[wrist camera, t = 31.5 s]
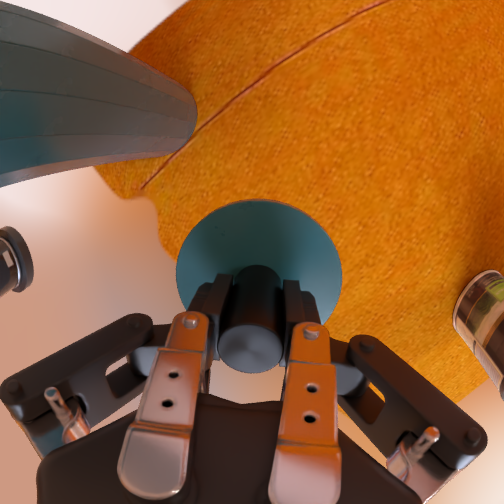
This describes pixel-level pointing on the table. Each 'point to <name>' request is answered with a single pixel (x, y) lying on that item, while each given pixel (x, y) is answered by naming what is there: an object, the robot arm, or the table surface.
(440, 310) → the table surface
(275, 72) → the table surface
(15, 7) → the tin
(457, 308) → the coffee can
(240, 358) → the lid
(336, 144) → the table surface
